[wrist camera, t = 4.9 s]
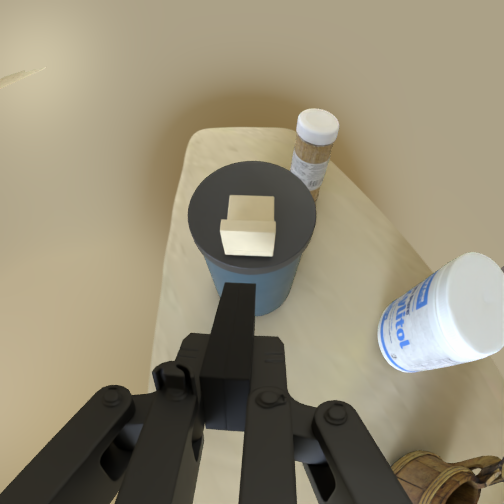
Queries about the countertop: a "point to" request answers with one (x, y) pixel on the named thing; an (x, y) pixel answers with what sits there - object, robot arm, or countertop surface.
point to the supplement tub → (446, 317)
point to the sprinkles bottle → (313, 147)
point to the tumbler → (285, 214)
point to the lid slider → (249, 226)
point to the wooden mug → (446, 478)
